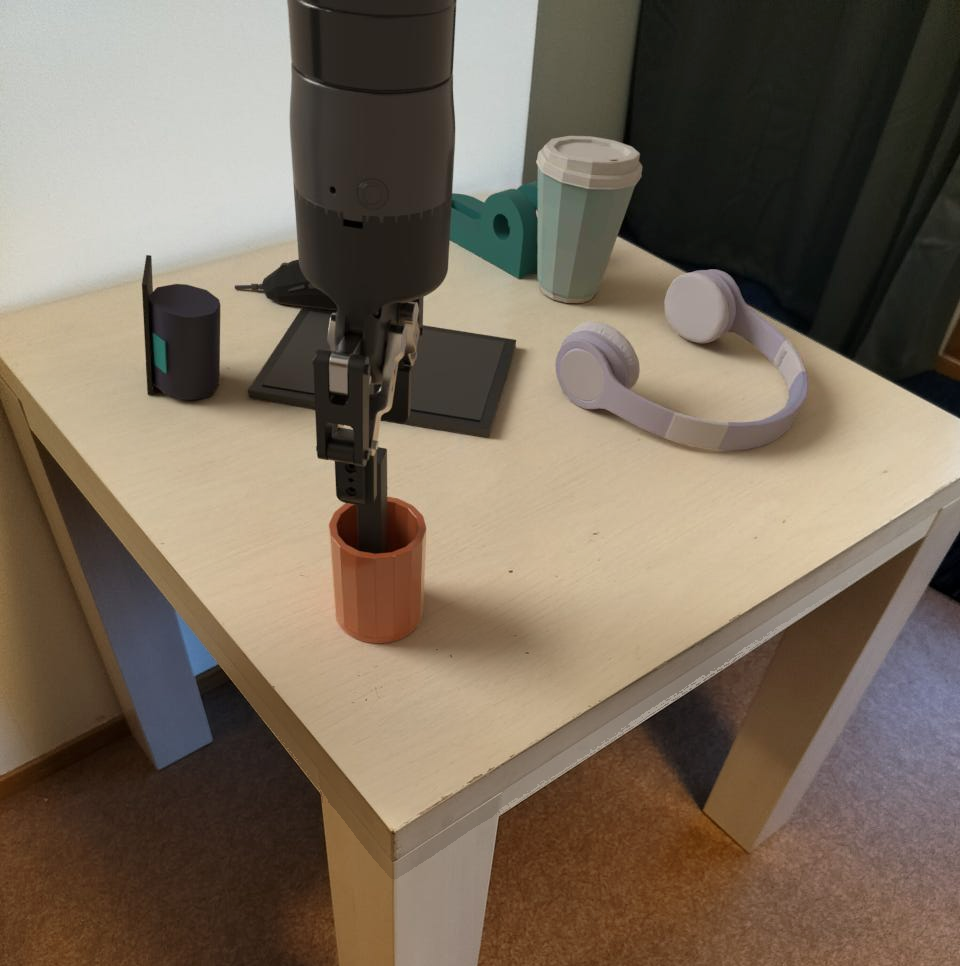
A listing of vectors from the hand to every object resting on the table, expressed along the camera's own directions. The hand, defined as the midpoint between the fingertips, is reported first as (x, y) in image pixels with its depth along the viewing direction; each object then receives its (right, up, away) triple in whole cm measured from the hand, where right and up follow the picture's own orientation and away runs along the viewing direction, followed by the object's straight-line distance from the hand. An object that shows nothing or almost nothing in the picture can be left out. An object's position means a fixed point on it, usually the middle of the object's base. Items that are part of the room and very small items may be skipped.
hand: (375, 457), depth 54 cm
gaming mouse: (-12, +25, +40) cm, 49 cm away
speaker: (-20, +12, +28) cm, 36 cm away
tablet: (-2, +14, +31) cm, 34 cm away
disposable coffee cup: (+16, +28, +45) cm, 55 cm away
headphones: (+27, +13, +33) cm, 44 cm away
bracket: (+7, +36, +52) cm, 63 cm away
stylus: (-1, -9, +9) cm, 13 cm away
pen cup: (-1, -9, +10) cm, 13 cm away
